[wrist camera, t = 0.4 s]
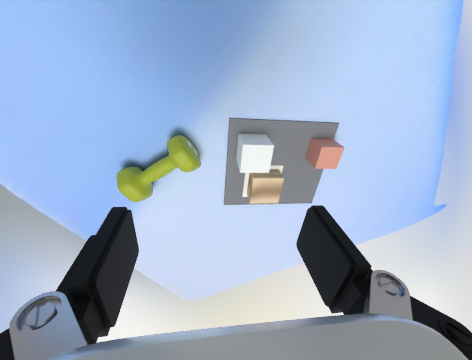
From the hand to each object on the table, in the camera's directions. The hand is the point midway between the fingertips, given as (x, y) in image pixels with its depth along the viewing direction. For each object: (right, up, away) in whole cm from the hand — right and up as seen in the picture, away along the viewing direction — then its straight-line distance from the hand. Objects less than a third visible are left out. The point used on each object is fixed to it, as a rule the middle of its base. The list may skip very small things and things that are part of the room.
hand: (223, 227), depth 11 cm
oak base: (+7, +2, +40) cm, 40 cm away
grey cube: (+4, +10, +34) cm, 36 cm away
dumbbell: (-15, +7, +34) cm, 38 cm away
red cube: (+20, +10, +37) cm, 43 cm away
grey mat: (+10, +6, +38) cm, 40 cm away
